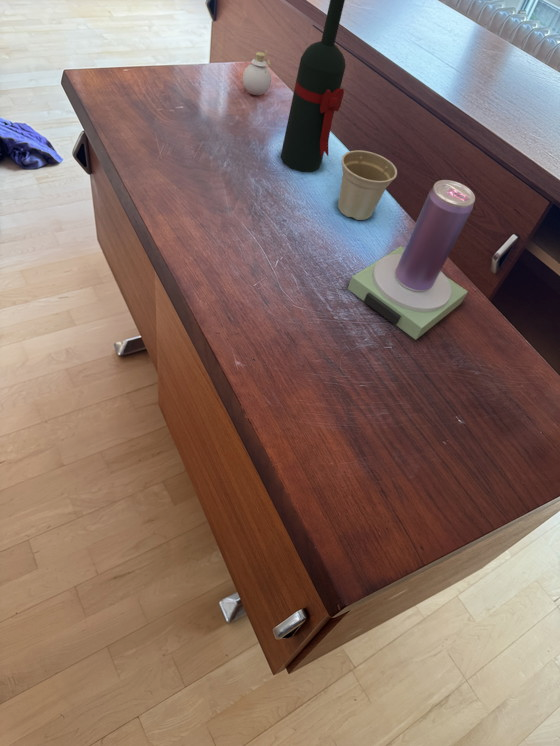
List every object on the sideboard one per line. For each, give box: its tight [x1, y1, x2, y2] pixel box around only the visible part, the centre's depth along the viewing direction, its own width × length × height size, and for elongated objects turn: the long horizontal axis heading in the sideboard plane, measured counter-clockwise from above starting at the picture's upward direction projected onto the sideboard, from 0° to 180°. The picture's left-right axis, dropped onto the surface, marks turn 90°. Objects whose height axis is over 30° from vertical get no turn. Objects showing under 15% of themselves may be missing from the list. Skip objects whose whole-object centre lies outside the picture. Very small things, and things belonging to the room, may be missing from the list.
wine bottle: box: [279, 0, 347, 173], centre depth 95 cm, size 8×10×30 cm
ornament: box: [242, 48, 272, 96], centre depth 117 cm, size 6×7×10 cm
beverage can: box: [396, 179, 476, 292], centre depth 79 cm, size 6×6×15 cm
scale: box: [347, 245, 469, 340], centre depth 86 cm, size 13×14×3 cm
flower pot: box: [337, 149, 398, 221], centre depth 96 cm, size 9×9×9 cm
